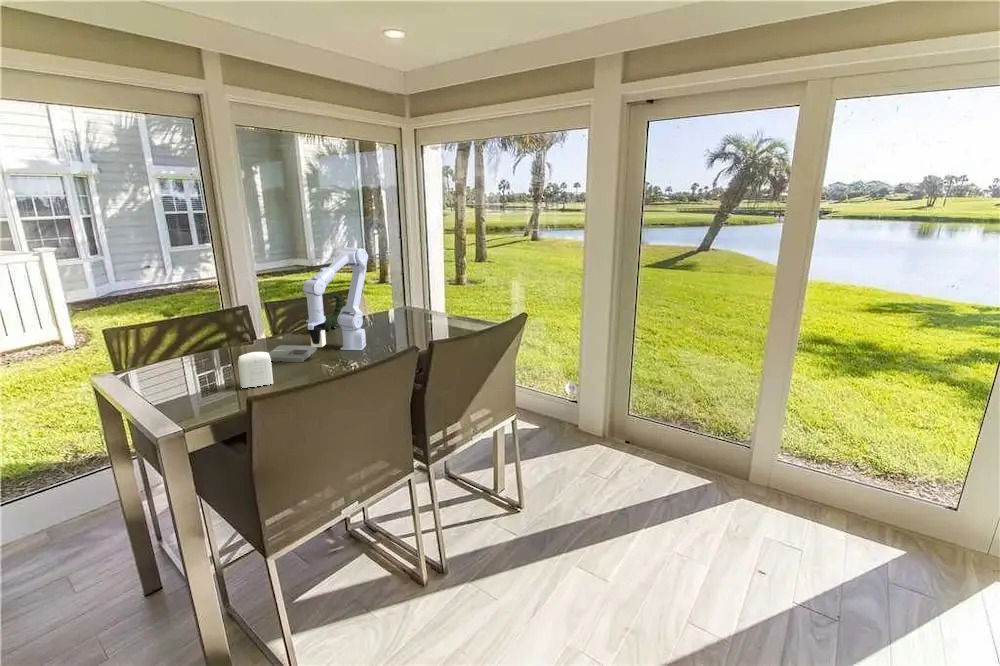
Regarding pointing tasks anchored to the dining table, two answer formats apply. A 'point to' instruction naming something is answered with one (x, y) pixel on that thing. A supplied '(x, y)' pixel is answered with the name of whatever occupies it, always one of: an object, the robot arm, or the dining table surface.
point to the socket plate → (291, 353)
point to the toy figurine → (333, 319)
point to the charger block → (322, 340)
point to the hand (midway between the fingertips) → (318, 342)
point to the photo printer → (255, 369)
